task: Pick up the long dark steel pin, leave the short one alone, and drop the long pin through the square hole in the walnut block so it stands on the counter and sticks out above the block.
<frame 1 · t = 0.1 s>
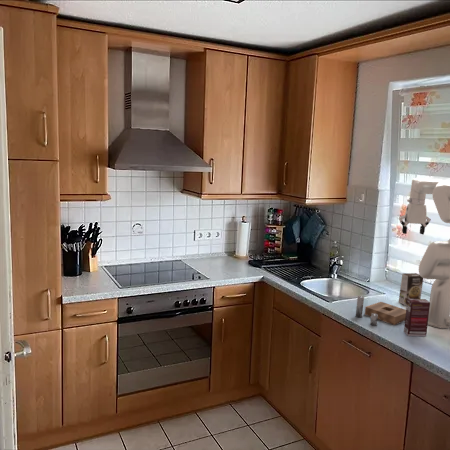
hand: (413, 233, 249), 37 cm above the worktop, tool pointing down, fingers open, 9 cm apart
coffee box: (409, 303, 251), on the worktop
short pin: (373, 324, 218), on the worktop
supplement box: (414, 334, 210), on the worktop
hole block: (386, 316, 229), on the worktop
long pin: (358, 316, 228), on the worktop
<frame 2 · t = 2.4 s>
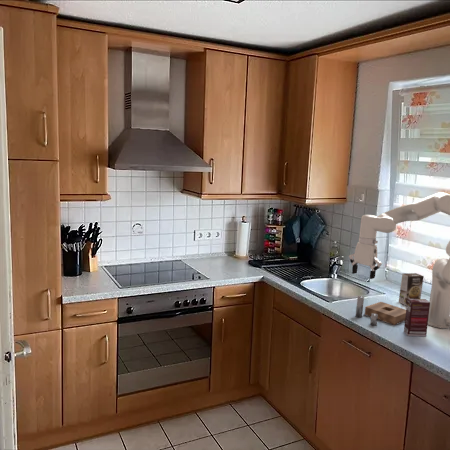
hand: (363, 275, 224), 20 cm above the worktop, tool pointing down, fingers open, 9 cm apart
nothing on the worktop moved.
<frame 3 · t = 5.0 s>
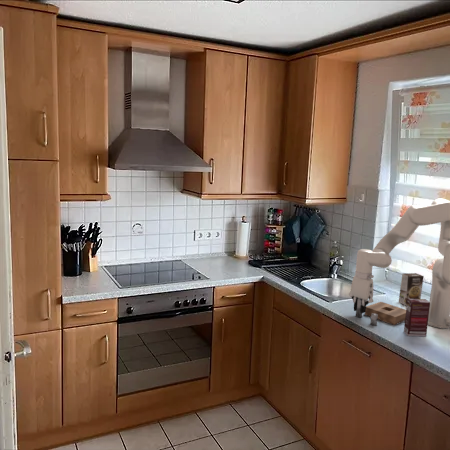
hand: (359, 311, 227), 3 cm above the worktop, tool pointing down, fingers closed on long pin, 3 cm apart
long pin: (358, 316, 228), on the worktop, touching gripper
everything else where it was.
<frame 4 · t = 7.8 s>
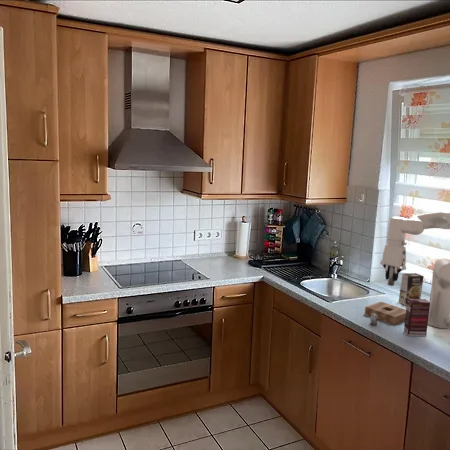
hand: (391, 279, 226), 19 cm above the worktop, tool pointing down, fingers closed on long pin, 3 cm apart
long pin: (390, 284, 227), point 16 cm above the worktop, touching gripper
everything else where it was.
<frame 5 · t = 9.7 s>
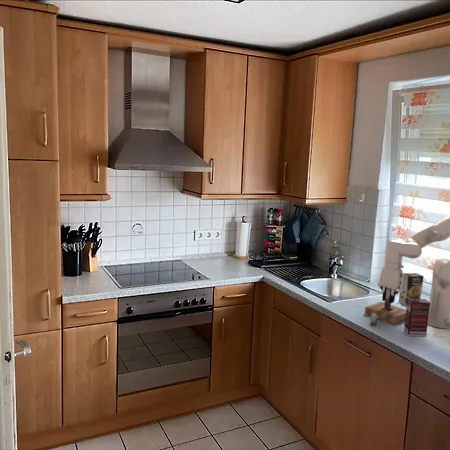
hand: (387, 301, 228), 8 cm above the worktop, tool pointing down, fingers closed on long pin, 3 cm apart
long pin: (387, 306, 229), point 5 cm above the worktop, touching gripper
everything else where it was.
when the fingers open (5 cm above the worktop, at t = 11.0 s): long pin drops 2 cm, resting in hole block.
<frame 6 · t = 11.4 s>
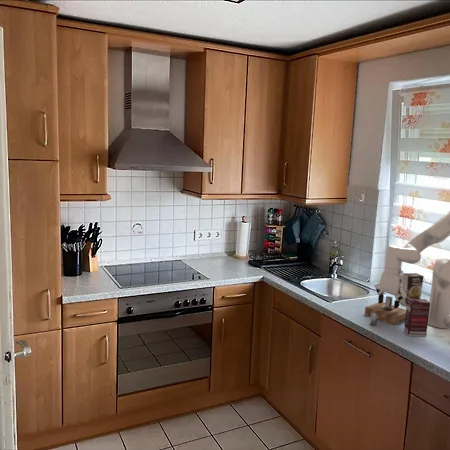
hand: (388, 305, 228), 6 cm above the worktop, tool pointing down, fingers open, 7 cm apart
long pin: (387, 316, 229), resting in hole block
everything else where it was.
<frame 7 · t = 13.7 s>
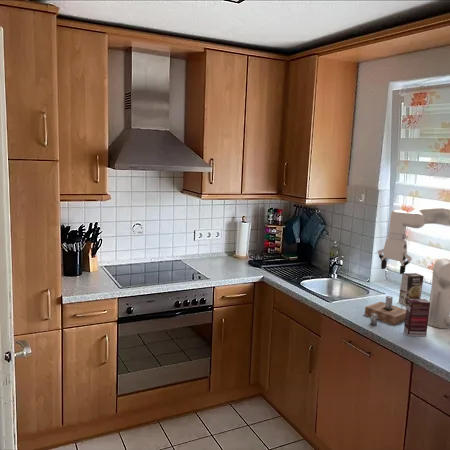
hand: (392, 271, 225), 23 cm above the worktop, tool pointing down, fingers open, 9 cm apart
nothing on the worktop moved.
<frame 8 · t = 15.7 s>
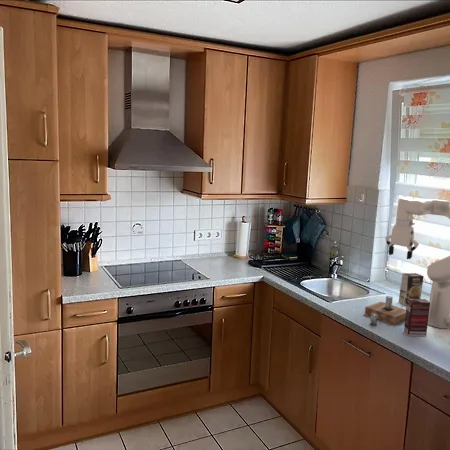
hand: (399, 256, 234), 28 cm above the worktop, tool pointing down, fingers open, 9 cm apart
nothing on the worktop moved.
at the end: long pin 0.1 cm off-centre on the hole block, point 0.0 cm above the hole block's base; long pin tilted 0°; short pin moved 0.0 cm from its start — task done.
